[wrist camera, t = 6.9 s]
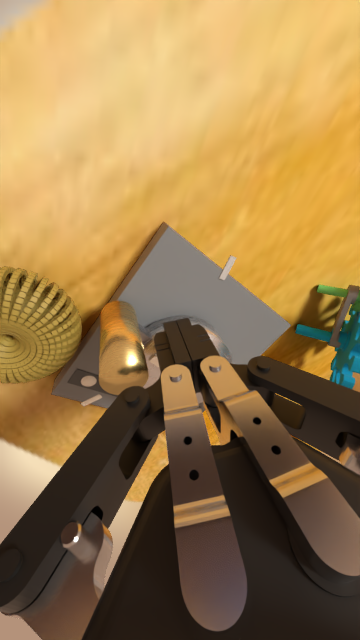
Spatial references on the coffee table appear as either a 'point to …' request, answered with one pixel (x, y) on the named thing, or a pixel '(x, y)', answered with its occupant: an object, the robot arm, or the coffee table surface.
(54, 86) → the coffee table surface
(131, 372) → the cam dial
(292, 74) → the coffee table surface
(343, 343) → the gear
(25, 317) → the sculpture
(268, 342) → the board
